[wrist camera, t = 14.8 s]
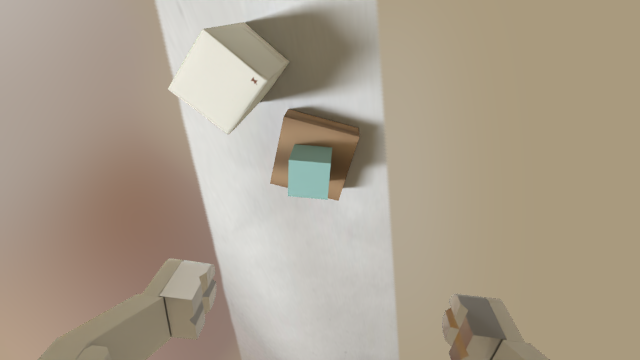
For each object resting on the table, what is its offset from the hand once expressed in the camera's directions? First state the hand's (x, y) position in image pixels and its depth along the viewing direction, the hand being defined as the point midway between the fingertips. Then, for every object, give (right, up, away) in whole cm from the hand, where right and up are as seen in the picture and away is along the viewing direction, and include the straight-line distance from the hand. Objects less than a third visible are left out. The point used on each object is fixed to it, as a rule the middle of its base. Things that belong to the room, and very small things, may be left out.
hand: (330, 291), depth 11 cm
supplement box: (-9, +19, +31) cm, 37 cm away
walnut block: (-1, +8, +36) cm, 37 cm away
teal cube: (-1, +6, +33) cm, 33 cm away
